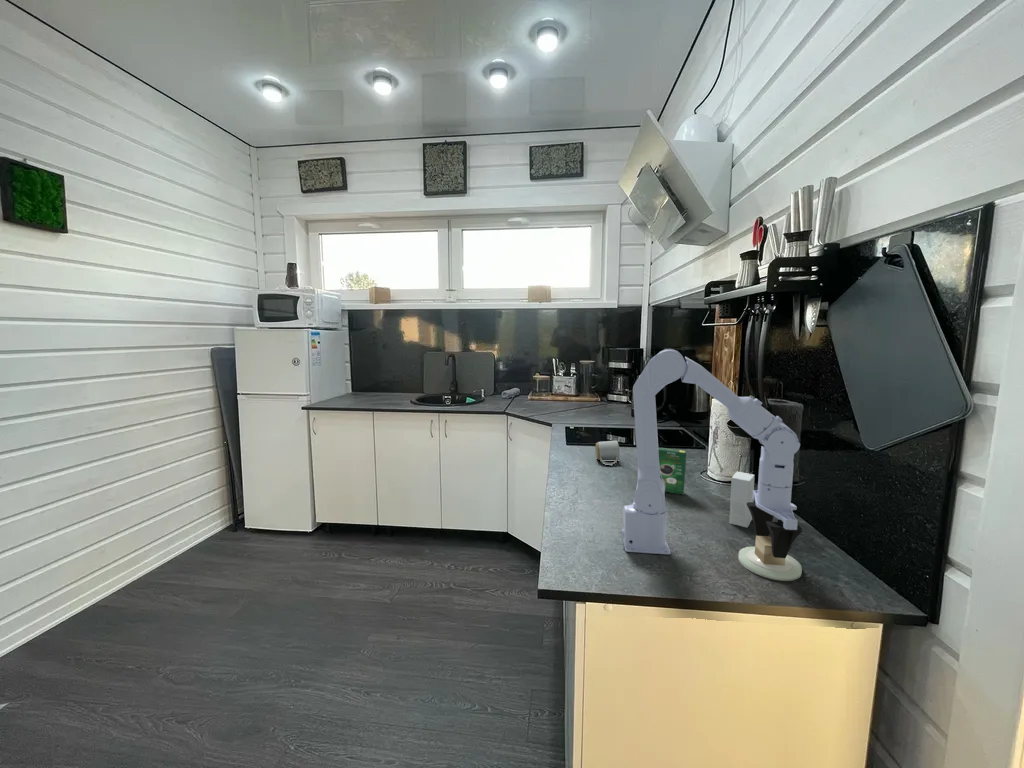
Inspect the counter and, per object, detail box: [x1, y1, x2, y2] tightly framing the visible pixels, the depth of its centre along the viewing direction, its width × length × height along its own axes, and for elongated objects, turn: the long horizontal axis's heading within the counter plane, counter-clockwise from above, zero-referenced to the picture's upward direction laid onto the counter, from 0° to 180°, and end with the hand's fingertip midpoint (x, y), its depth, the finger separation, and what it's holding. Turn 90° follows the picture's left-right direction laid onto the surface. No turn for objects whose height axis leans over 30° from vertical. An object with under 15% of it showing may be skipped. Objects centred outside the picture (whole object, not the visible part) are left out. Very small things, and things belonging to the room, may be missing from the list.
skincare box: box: [728, 471, 755, 528], centre depth 103 cm, size 6×4×12 cm
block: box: [754, 535, 785, 566], centre depth 84 cm, size 4×4×4 cm
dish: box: [737, 545, 803, 582], centre depth 84 cm, size 11×11×1 cm
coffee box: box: [658, 446, 688, 496], centre depth 123 cm, size 8×3×13 cm, turn 65°
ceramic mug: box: [595, 440, 621, 465], centre depth 152 cm, size 11×8×8 cm
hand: (770, 546), depth 84 cm, fingers open, 7 cm apart
